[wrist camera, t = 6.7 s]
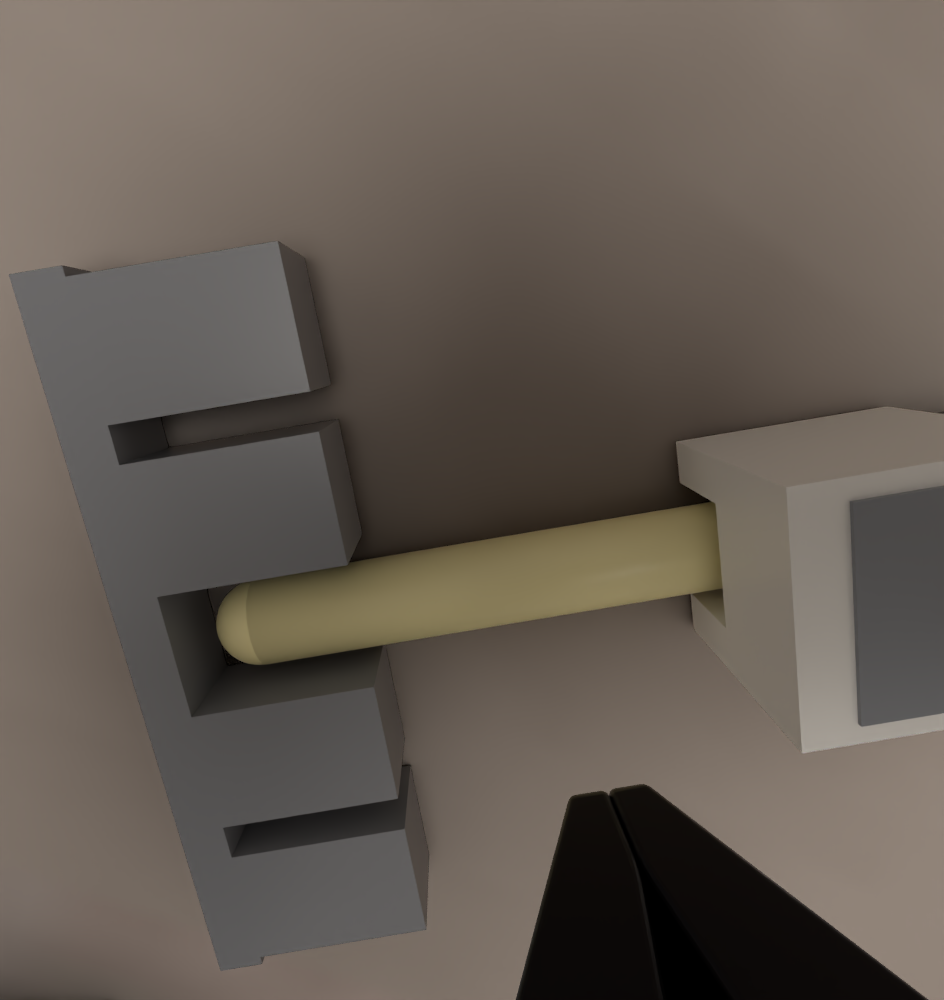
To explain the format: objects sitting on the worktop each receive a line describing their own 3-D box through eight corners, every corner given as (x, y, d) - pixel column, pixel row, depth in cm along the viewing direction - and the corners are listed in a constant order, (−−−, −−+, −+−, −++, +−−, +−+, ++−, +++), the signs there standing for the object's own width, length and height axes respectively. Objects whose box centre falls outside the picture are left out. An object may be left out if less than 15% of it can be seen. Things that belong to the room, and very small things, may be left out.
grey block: (694, 629, 17) (804, 756, 12) (676, 441, 16) (789, 488, 11) (891, 596, 17) (1091, 709, 12) (886, 406, 16) (1104, 435, 11)
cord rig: (249, 891, 18) (211, 994, 15) (78, 286, 15) (-13, 270, 12) (1087, 752, 18) (1208, 829, 15) (1117, 110, 15) (1284, 51, 12)
